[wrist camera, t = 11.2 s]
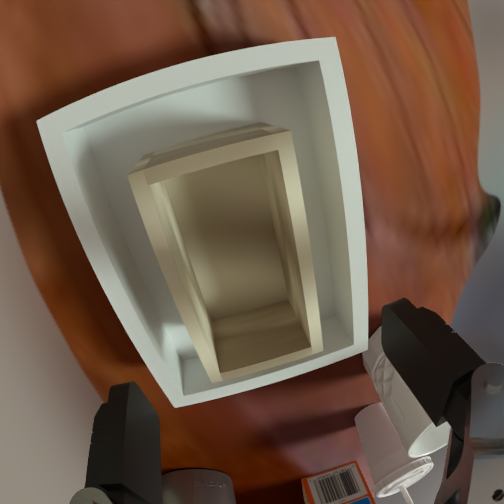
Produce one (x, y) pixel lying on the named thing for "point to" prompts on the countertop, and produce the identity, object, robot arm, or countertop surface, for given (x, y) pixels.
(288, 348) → the birch crate
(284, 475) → the countertop surface
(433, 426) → the white cup
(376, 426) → the smoothie
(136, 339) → the white crate
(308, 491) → the orange cereal box
